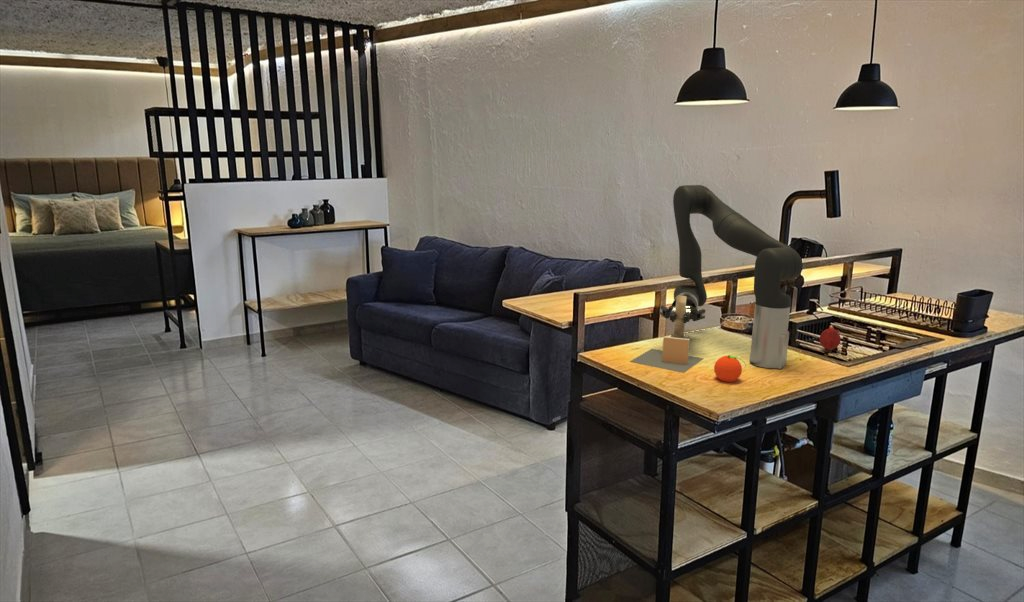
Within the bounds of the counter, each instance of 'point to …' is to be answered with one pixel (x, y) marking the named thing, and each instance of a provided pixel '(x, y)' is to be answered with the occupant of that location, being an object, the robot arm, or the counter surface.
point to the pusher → (679, 317)
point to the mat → (655, 360)
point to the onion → (830, 338)
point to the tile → (675, 350)
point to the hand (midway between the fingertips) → (679, 319)
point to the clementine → (728, 368)
